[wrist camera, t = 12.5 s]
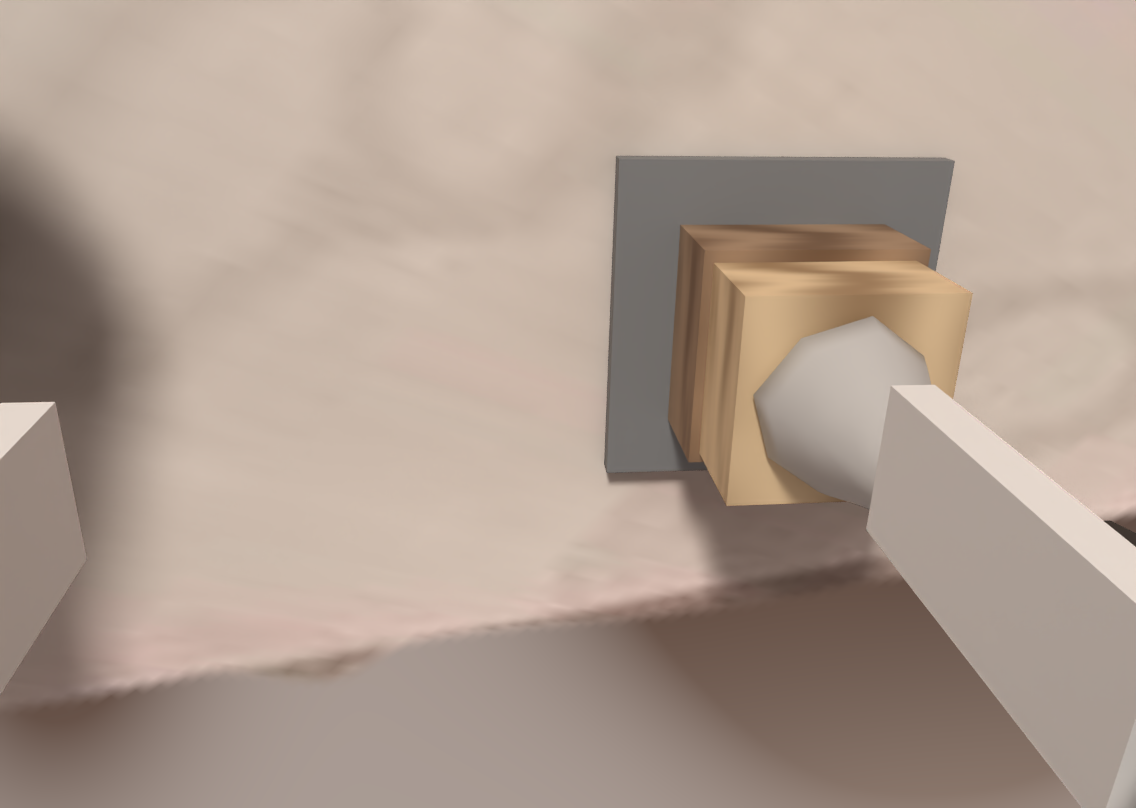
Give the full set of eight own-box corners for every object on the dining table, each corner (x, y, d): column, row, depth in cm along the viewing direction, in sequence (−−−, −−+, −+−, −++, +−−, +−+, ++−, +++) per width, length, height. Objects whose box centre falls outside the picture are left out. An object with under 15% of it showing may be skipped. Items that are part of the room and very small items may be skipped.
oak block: (699, 453, 44) (726, 506, 40) (713, 262, 41) (745, 296, 36) (886, 447, 45) (934, 498, 40) (916, 260, 42) (972, 293, 37)
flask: (958, 419, 39) (1109, 548, 30) (807, 515, 40) (909, 668, 31) (879, 281, 36) (1019, 377, 27) (720, 388, 37) (802, 514, 28)
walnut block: (667, 418, 49) (688, 462, 44) (680, 224, 45) (704, 250, 40) (856, 414, 50) (895, 456, 45) (884, 224, 46) (931, 249, 41)
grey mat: (604, 464, 51) (606, 472, 50) (616, 156, 44) (619, 159, 44) (894, 456, 52) (901, 464, 51) (944, 157, 46) (954, 160, 45)
